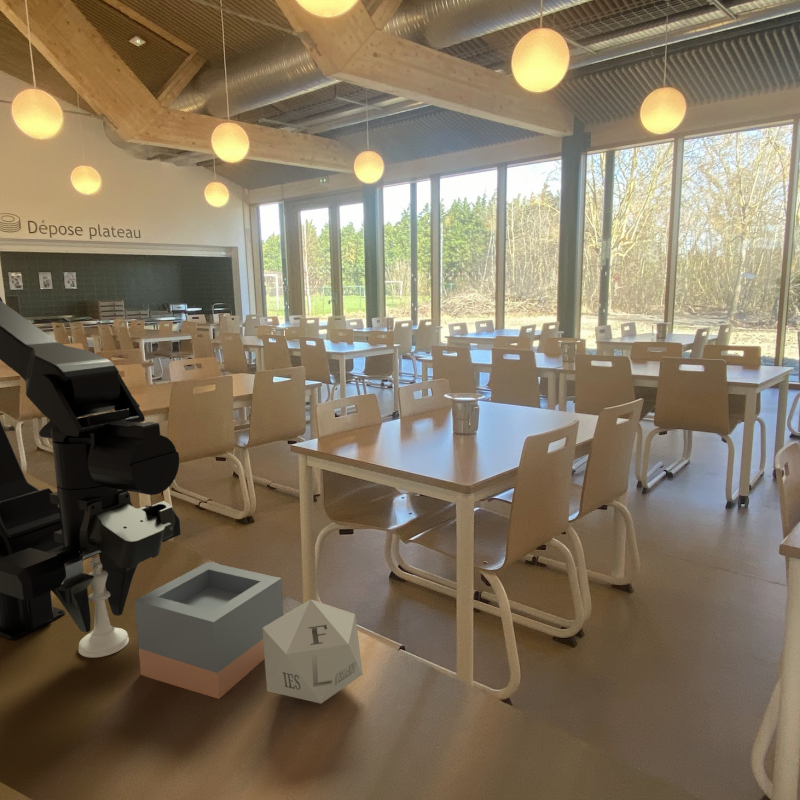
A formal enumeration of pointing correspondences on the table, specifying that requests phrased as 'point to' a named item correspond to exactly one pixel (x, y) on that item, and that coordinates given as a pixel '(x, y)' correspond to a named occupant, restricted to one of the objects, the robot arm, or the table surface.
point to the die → (311, 652)
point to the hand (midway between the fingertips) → (101, 622)
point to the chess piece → (101, 620)
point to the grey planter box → (206, 627)
